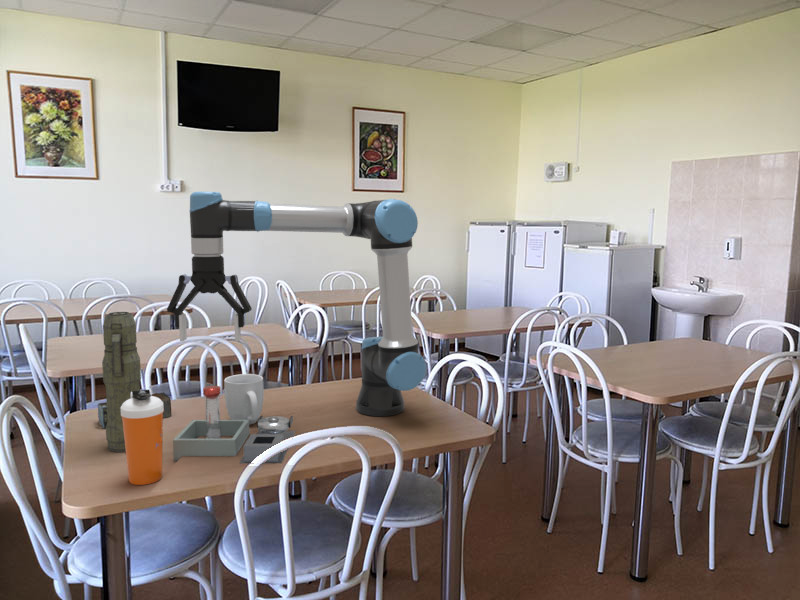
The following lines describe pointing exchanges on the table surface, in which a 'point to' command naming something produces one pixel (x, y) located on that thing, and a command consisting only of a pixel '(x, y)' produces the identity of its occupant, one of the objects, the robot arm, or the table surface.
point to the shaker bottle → (143, 436)
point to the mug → (244, 396)
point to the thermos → (119, 372)
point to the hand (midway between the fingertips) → (210, 340)
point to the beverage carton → (164, 398)
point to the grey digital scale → (268, 438)
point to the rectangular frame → (192, 446)
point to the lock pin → (212, 411)
